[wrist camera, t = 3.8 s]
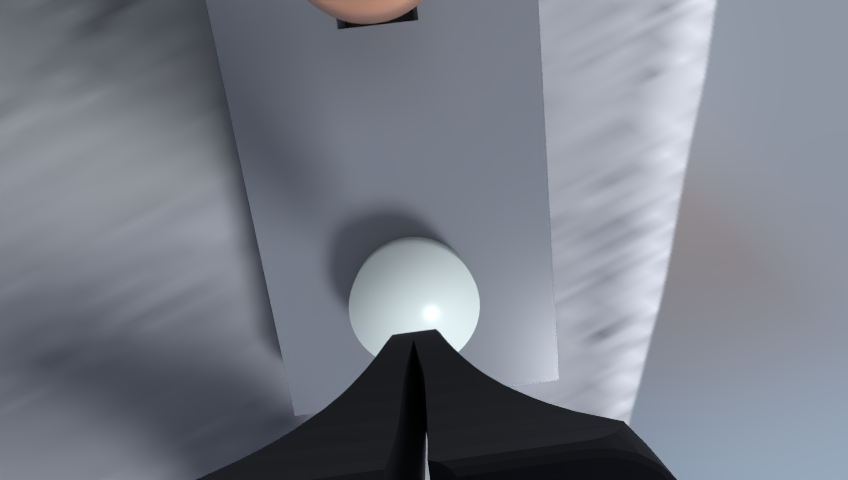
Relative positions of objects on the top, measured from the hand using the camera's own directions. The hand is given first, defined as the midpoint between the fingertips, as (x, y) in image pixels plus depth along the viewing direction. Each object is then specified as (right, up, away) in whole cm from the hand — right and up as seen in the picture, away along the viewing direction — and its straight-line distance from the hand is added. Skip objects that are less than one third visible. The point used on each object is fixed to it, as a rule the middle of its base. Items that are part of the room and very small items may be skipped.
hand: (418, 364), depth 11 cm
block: (-1, +8, +7) cm, 11 cm away
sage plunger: (0, +2, +8) cm, 9 cm away
